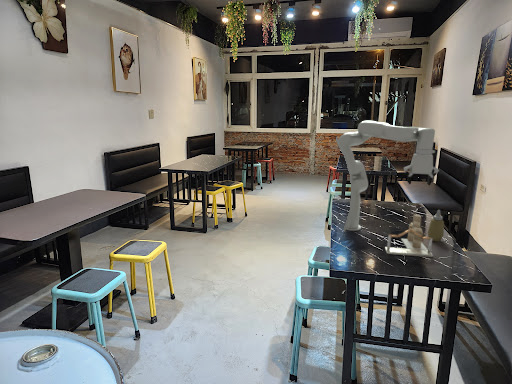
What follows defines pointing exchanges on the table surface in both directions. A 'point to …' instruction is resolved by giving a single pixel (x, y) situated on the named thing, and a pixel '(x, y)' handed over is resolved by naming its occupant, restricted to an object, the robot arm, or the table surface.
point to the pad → (409, 245)
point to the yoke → (416, 227)
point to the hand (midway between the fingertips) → (418, 184)
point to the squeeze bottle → (436, 227)
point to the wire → (409, 251)
